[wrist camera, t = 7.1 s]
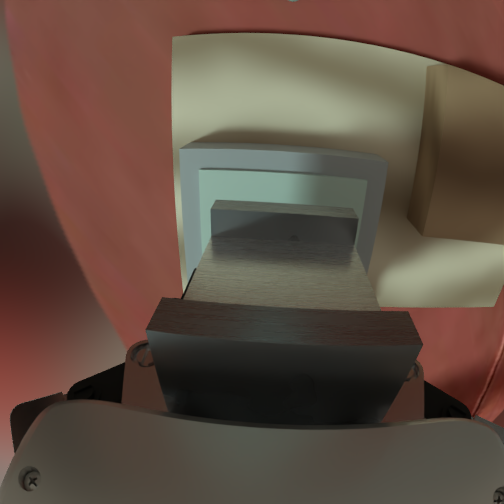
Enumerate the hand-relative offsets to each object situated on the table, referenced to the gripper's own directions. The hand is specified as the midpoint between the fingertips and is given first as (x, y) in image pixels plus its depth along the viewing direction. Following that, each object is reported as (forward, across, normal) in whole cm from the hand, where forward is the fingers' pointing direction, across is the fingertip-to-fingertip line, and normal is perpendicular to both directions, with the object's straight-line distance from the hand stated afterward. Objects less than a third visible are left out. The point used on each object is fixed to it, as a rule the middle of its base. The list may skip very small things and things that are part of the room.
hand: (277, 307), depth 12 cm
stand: (+7, -12, -6) cm, 15 cm away
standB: (+7, 0, 0) cm, 7 cm away
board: (+8, -6, -3) cm, 10 cm away
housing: (+1, 0, 0) cm, 1 cm away
